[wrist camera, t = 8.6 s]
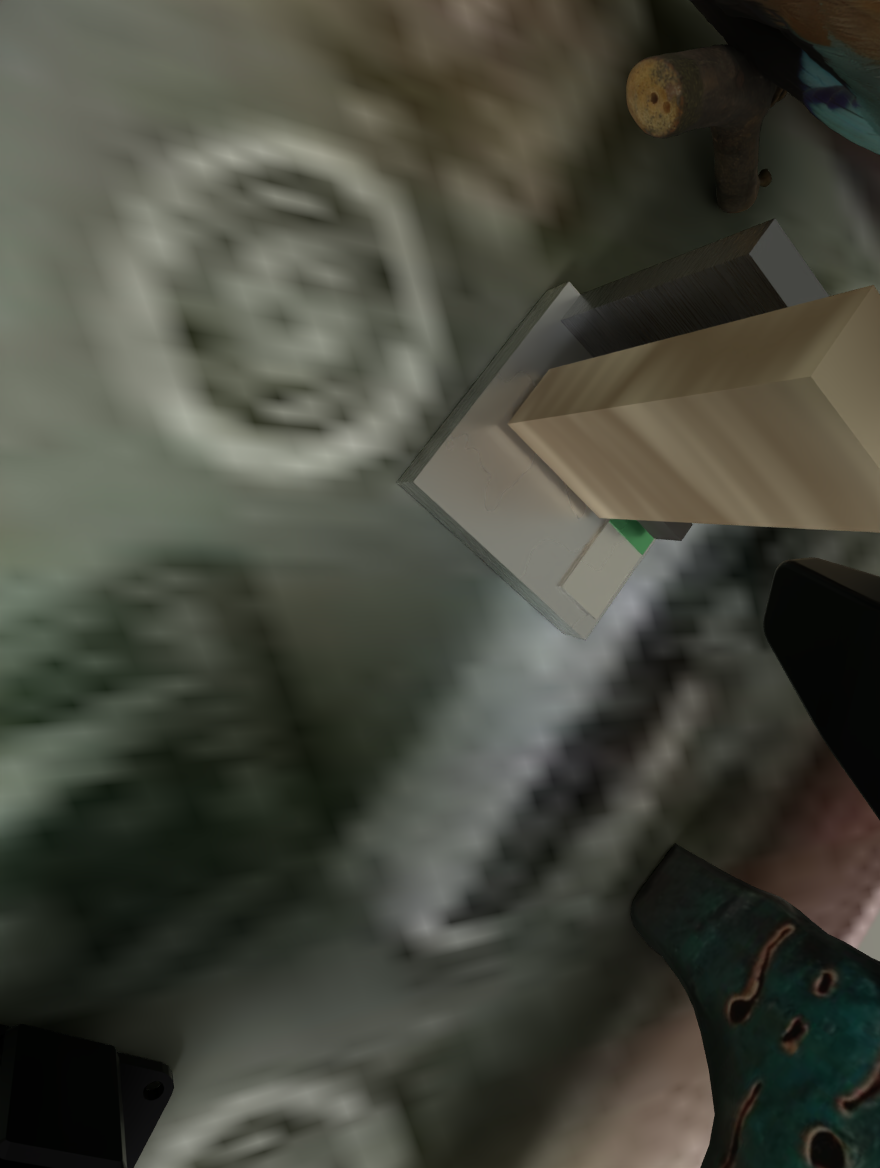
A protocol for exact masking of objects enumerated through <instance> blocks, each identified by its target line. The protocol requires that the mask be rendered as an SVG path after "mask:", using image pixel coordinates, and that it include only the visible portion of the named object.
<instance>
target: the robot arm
mask: <svg viewBox="0 0 880 1168" xmlns="http://www.w3.org/2000/svg"><path fill="white" fill-rule="evenodd" d="M763 627H764V633H765V636H766V639H767V641H768V643H769V645H770V646H771V648H772V650H773V652H774V653H775V655H776V657H777V659H778V661H779V662H780V664H781V666H782V668H783V670H784V671H785V673H786V675H787V677H788V678H789V680H790V682H791V684H792V686H793V687H794V689H795V691H796V693H797V695H798V696H799V698H800V700H801V702H802V703H803V705H804V707H805V709H806V711H807V712H808V714H809V716H810V718H811V720H812V721H813V723H814V725H815V726H816V728H817V730H818V731H819V733H820V735H821V736H822V738H823V740H824V741H825V743H826V744H827V746H828V747H829V749H830V750H831V752H832V753H833V755H834V756H835V757H836V759H837V760H838V762H839V763H840V765H841V766H842V767H843V769H844V770H845V772H846V773H847V775H848V776H849V777H850V779H851V780H852V782H853V783H854V784H855V786H856V787H857V789H858V790H859V792H860V793H861V794H862V796H863V797H864V799H865V800H866V801H867V803H868V804H869V806H870V807H871V809H872V810H873V811H874V813H875V814H876V816H877V817H878V819H879V820H880V577H879V576H876V575H872V574H869V573H866V572H862V571H859V570H856V569H852V568H849V567H846V566H842V565H839V564H836V563H832V562H829V561H826V560H823V559H819V558H801V559H793V560H786V561H784V562H782V563H781V564H780V565H779V566H778V567H777V569H776V571H775V574H774V577H773V581H772V586H771V590H770V594H769V598H768V602H767V606H766V610H765V615H764V620H763ZM154 1081H159V1082H161V1084H160V1085H159V1086H158V1087H157V1088H155V1089H153V1090H147V1089H145V1087H146V1086H147V1085H148V1084H149V1083H151V1082H154ZM173 1089H174V1084H173V1077H172V1071H171V1069H170V1068H169V1066H168V1065H166V1064H164V1063H162V1062H157V1061H153V1060H149V1059H145V1058H141V1057H136V1056H132V1055H128V1054H124V1053H119V1052H117V1051H116V1049H115V1047H114V1046H112V1045H108V1044H103V1043H99V1042H95V1041H91V1040H87V1039H82V1038H78V1037H74V1036H70V1035H66V1034H62V1033H57V1032H53V1031H49V1030H45V1029H41V1028H36V1027H32V1026H28V1025H24V1024H19V1025H16V1026H13V1027H9V1026H5V1025H1V1024H0V1168H134V1166H135V1164H136V1162H137V1160H138V1158H139V1156H140V1155H141V1153H142V1151H143V1149H144V1147H145V1145H146V1143H147V1141H148V1139H149V1137H150V1135H151V1133H152V1132H153V1130H154V1128H155V1126H156V1124H157V1122H158V1120H159V1118H160V1116H161V1114H162V1112H163V1110H164V1108H165V1107H166V1105H167V1103H168V1101H169V1099H170V1097H171V1095H172V1092H173Z"/></svg>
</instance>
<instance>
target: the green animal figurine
mask: <svg viewBox="0 0 880 1168" xmlns="http://www.w3.org/2000/svg"><path fill="white" fill-rule="evenodd" d="M631 918H632V922H633V925H634V927H635V928H636V930H637V931H638V932H639V934H640V935H641V936H642V938H643V939H644V940H645V941H646V943H647V944H648V945H649V946H650V947H651V948H652V949H654V950H655V951H656V952H657V953H659V954H660V955H661V956H662V957H663V958H664V959H665V961H666V962H667V963H668V965H669V966H670V968H671V969H672V971H673V972H674V973H675V975H676V976H677V978H678V979H679V981H680V982H681V984H682V986H683V987H684V989H685V990H686V992H687V994H688V996H689V999H690V1001H691V1003H692V1005H693V1008H694V1011H695V1014H696V1018H697V1021H698V1025H699V1028H700V1031H701V1036H702V1040H703V1045H704V1050H705V1054H706V1059H707V1063H708V1068H709V1074H710V1082H711V1089H712V1096H713V1104H714V1112H715V1116H714V1122H713V1127H712V1133H711V1138H710V1144H709V1147H708V1149H707V1152H706V1155H705V1157H704V1160H703V1162H702V1165H701V1168H880V961H877V960H875V959H873V958H871V957H869V956H868V955H866V954H864V953H863V952H861V951H859V950H857V949H856V948H854V947H852V946H851V945H849V944H847V943H846V942H844V941H841V940H839V939H837V938H835V937H833V936H831V935H829V934H827V933H826V932H825V931H824V930H822V929H821V928H820V927H819V926H817V925H816V924H815V923H814V922H812V921H811V920H810V919H809V918H808V917H807V916H805V915H804V914H803V913H802V912H801V911H800V910H798V909H797V908H795V907H794V906H792V905H791V904H790V903H788V902H787V901H785V900H784V899H782V898H781V897H779V896H776V895H774V894H771V893H768V892H766V891H763V890H760V889H758V888H755V887H753V886H751V885H749V884H747V883H745V882H743V881H741V880H739V879H737V878H735V877H733V876H731V875H730V874H728V873H726V872H724V871H722V870H720V869H718V868H717V867H715V866H713V865H712V864H710V863H708V862H706V861H705V860H703V859H701V858H699V857H698V856H696V855H694V854H692V853H690V852H689V851H687V850H685V849H683V848H682V847H680V846H679V845H677V844H676V843H675V845H674V846H673V847H672V848H671V850H670V851H669V852H668V854H667V855H666V856H665V858H664V859H663V860H662V862H661V863H660V864H659V866H658V867H657V868H656V870H655V871H654V872H653V874H652V875H651V876H650V878H649V879H648V880H647V882H646V883H645V884H644V886H643V887H642V889H641V890H640V891H639V893H638V894H637V896H636V897H635V899H634V900H633V904H632V908H631Z"/></svg>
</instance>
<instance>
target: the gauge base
mask: <svg viewBox="0 0 880 1168" xmlns="http://www.w3.org/2000/svg"><path fill="white" fill-rule="evenodd" d="M825 297H829V295H828V294H827V292H826V291H825V289H824V288H823V287H822V285H821V284H820V282H819V281H818V279H817V278H816V276H815V275H814V274H813V272H812V271H811V269H810V268H809V266H808V265H807V264H806V262H805V261H804V259H803V258H802V256H801V255H800V253H799V252H798V251H797V249H796V248H795V246H794V245H793V243H792V242H791V240H790V239H789V238H788V236H787V235H786V233H785V232H784V230H783V229H782V227H781V226H780V225H779V223H778V222H777V220H776V219H775V218H774V219H772V220H769V221H767V222H764V223H762V224H759V225H757V226H754V227H752V228H749V229H746V230H744V231H741V232H739V233H736V234H734V235H731V236H729V237H726V238H723V239H721V240H718V241H716V242H713V243H711V244H708V245H706V246H703V247H701V248H698V249H695V250H693V251H690V252H688V253H685V254H683V255H680V256H678V257H675V258H672V259H670V260H667V261H665V262H662V263H660V264H657V265H655V266H652V267H649V268H647V269H644V270H642V271H639V272H637V273H634V274H632V275H629V276H627V277H624V278H621V279H619V280H616V281H614V282H611V283H609V284H606V285H604V286H601V287H598V288H596V289H593V290H591V291H588V292H586V293H583V294H580V293H579V292H578V291H577V290H576V289H575V287H574V286H573V285H572V284H571V283H570V282H566V283H564V284H562V285H559V286H557V287H555V288H552V289H550V290H548V291H546V292H545V294H544V295H543V296H542V297H541V299H540V300H539V301H538V303H537V304H536V305H535V306H534V308H533V309H532V310H531V312H530V313H529V314H528V315H527V317H526V318H525V319H524V321H523V322H522V323H521V324H520V326H519V327H518V328H517V329H516V331H515V332H514V333H513V335H512V336H511V337H510V338H509V340H508V341H507V342H506V344H505V345H504V346H503V347H502V349H501V350H500V351H499V353H498V354H497V355H496V356H495V358H494V359H493V360H492V361H491V363H490V364H489V365H488V367H487V368H486V369H485V370H484V372H483V373H482V374H481V376H480V377H479V378H478V379H477V381H476V382H475V383H474V385H473V386H472V387H471V388H470V390H469V391H468V392H467V393H466V395H465V396H464V397H463V399H462V400H461V401H460V402H459V404H458V405H457V406H456V408H455V409H454V410H453V411H452V413H451V414H450V415H449V417H448V418H447V419H446V420H445V422H444V423H443V424H442V425H441V427H440V428H439V429H438V431H437V432H436V433H435V434H434V436H433V437H432V438H431V440H430V441H429V442H428V443H427V445H426V446H425V447H424V449H423V450H422V451H421V452H420V454H419V455H418V456H417V457H416V459H415V460H414V461H413V463H412V464H411V465H410V466H409V468H408V469H407V470H406V472H405V473H404V474H403V475H402V477H401V478H400V479H399V481H398V482H397V483H398V484H399V485H400V486H402V487H403V488H404V489H405V490H406V491H407V492H408V493H409V494H410V495H411V496H413V497H414V498H415V499H416V500H417V501H418V502H419V503H420V504H421V505H422V506H424V507H425V508H426V509H427V510H428V511H429V512H430V513H431V514H432V515H433V516H435V517H436V518H437V519H438V520H439V521H440V522H441V523H442V524H443V525H444V526H446V527H447V528H448V529H449V530H450V531H451V532H452V533H453V534H454V535H455V536H457V537H458V538H459V539H460V540H461V541H462V542H463V543H464V544H465V545H466V546H468V547H469V548H470V549H471V550H472V551H473V552H474V553H475V554H476V555H477V556H479V557H480V558H481V559H482V560H483V561H484V562H485V563H486V564H487V565H488V566H490V567H491V568H492V569H493V570H494V571H495V572H496V573H497V574H498V575H499V576H500V577H502V578H503V579H504V580H505V581H506V582H507V583H508V584H509V585H510V586H511V587H513V588H514V589H515V590H516V591H517V592H518V593H519V594H520V595H521V596H522V597H524V598H525V599H526V600H527V601H528V602H529V603H530V604H531V605H532V606H533V607H535V608H536V609H537V610H538V611H539V612H540V613H541V614H542V615H543V616H544V617H546V618H547V619H548V620H549V621H550V622H551V623H552V624H553V625H554V626H555V627H557V628H558V629H559V630H560V631H561V632H562V633H563V634H566V635H569V636H573V637H576V638H579V639H583V640H586V639H587V637H588V636H589V635H590V633H591V632H592V630H593V629H594V627H595V626H596V625H597V623H598V622H599V620H600V619H601V617H602V616H603V615H604V613H605V612H606V610H607V609H608V607H609V606H610V604H611V603H612V602H613V600H614V599H615V597H616V596H617V594H618V593H619V592H620V590H621V589H622V587H623V586H624V584H625V583H626V582H627V580H628V579H629V577H630V576H631V574H632V573H633V572H634V570H635V569H636V567H637V566H638V564H639V563H640V561H641V560H642V559H643V557H644V556H645V554H646V553H647V551H648V550H649V549H650V547H651V546H652V544H653V543H654V541H655V540H656V539H654V538H653V537H652V536H651V535H650V534H649V533H648V532H647V531H646V530H645V529H644V527H643V526H642V525H641V524H640V523H639V522H638V521H637V520H627V519H607V518H599V517H598V516H597V515H596V514H595V513H594V512H593V511H592V510H591V509H590V508H589V507H588V506H587V505H586V504H585V503H584V502H583V501H582V500H581V499H580V498H579V497H578V496H577V495H576V494H575V493H574V492H573V491H572V490H571V489H570V488H569V487H568V485H567V484H566V483H565V482H564V481H563V480H562V479H561V478H560V477H559V476H558V475H557V474H556V473H555V472H554V471H553V470H552V469H551V468H550V467H549V466H548V465H547V464H546V463H545V462H544V461H543V460H542V459H541V458H540V457H539V456H538V455H537V454H536V453H535V452H534V451H533V450H532V449H531V448H530V447H529V446H528V445H527V444H526V443H525V442H524V441H523V439H522V438H521V437H520V436H519V435H518V434H517V433H516V432H515V431H514V430H513V429H512V428H511V427H510V426H509V425H508V423H509V421H510V420H511V419H512V417H513V416H514V415H515V413H516V412H517V411H518V409H519V408H520V407H521V406H522V404H523V403H524V402H525V400H526V399H527V398H528V396H529V395H530V394H531V392H532V391H533V390H534V388H535V387H536V386H537V385H538V383H539V382H540V381H541V379H542V378H543V377H544V375H545V374H546V373H547V371H548V370H549V369H552V368H556V367H560V366H563V365H567V364H571V363H575V362H579V361H583V360H587V359H590V358H594V357H598V356H602V355H606V354H610V353H613V352H617V351H621V350H625V349H629V348H633V347H637V346H640V345H644V344H648V343H652V342H656V341H660V340H664V339H667V338H671V337H675V336H679V335H683V334H687V333H691V332H694V331H698V330H702V329H706V328H710V327H714V326H718V325H721V324H725V323H729V322H733V321H737V320H741V319H745V318H748V317H752V316H756V315H760V314H764V313H768V312H772V311H775V310H779V309H783V308H787V307H791V306H795V305H798V304H802V303H806V302H810V301H814V300H818V299H822V298H825Z"/></svg>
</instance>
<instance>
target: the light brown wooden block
mask: <svg viewBox="0 0 880 1168" xmlns="http://www.w3.org/2000/svg"><path fill="white" fill-rule="evenodd" d="M508 425H509V426H510V427H511V428H512V429H513V430H514V431H515V432H516V433H517V434H518V435H519V436H520V437H521V438H522V439H523V441H524V442H525V443H526V444H527V445H528V446H529V447H530V448H531V449H532V450H533V451H534V452H535V453H536V454H537V455H538V456H539V457H540V458H541V459H542V460H543V461H544V462H545V463H546V464H547V465H548V466H549V467H550V468H551V469H552V470H553V471H554V472H555V473H556V474H557V475H558V476H559V477H560V478H561V479H562V480H563V481H564V482H565V483H566V484H567V485H568V487H569V488H570V489H571V490H572V491H573V492H574V493H575V494H576V495H577V496H578V497H579V498H580V499H581V500H582V501H583V502H584V503H585V504H586V505H587V506H588V507H589V508H590V509H591V510H592V511H593V512H594V513H595V514H596V515H597V516H598V517H599V518H607V519H627V520H637V521H638V522H639V523H640V524H641V525H642V526H643V527H644V529H645V530H646V531H647V532H648V533H649V534H650V535H651V536H652V537H653V538H654V539H665V540H677V541H682V539H683V538H684V536H685V535H686V533H687V532H688V531H689V529H690V528H691V526H692V525H693V524H692V523H704V524H723V525H743V526H762V527H781V528H801V529H820V530H839V531H859V532H878V533H880V294H879V293H878V291H877V290H876V288H875V287H874V285H872V286H868V287H864V288H860V289H856V290H852V291H849V292H845V293H841V294H837V295H833V296H829V297H825V298H822V299H818V300H814V301H810V302H806V303H802V304H798V305H795V306H791V307H787V308H783V309H779V310H775V311H772V312H768V313H764V314H760V315H756V316H752V317H748V318H745V319H741V320H737V321H733V322H729V323H725V324H721V325H718V326H714V327H710V328H706V329H702V330H698V331H694V332H691V333H687V334H683V335H679V336H675V337H671V338H667V339H664V340H660V341H656V342H652V343H648V344H644V345H640V346H637V347H633V348H629V349H625V350H621V351H617V352H613V353H610V354H606V355H602V356H598V357H594V358H590V359H587V360H583V361H579V362H575V363H571V364H567V365H563V366H560V367H556V368H552V369H549V370H548V371H547V373H546V374H545V375H544V377H543V378H542V379H541V381H540V382H539V383H538V385H537V386H536V387H535V388H534V390H533V391H532V392H531V394H530V395H529V396H528V398H527V399H526V400H525V402H524V403H523V404H522V406H521V407H520V408H519V409H518V411H517V412H516V413H515V415H514V416H513V417H512V419H511V420H510V421H509V423H508Z"/></svg>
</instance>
